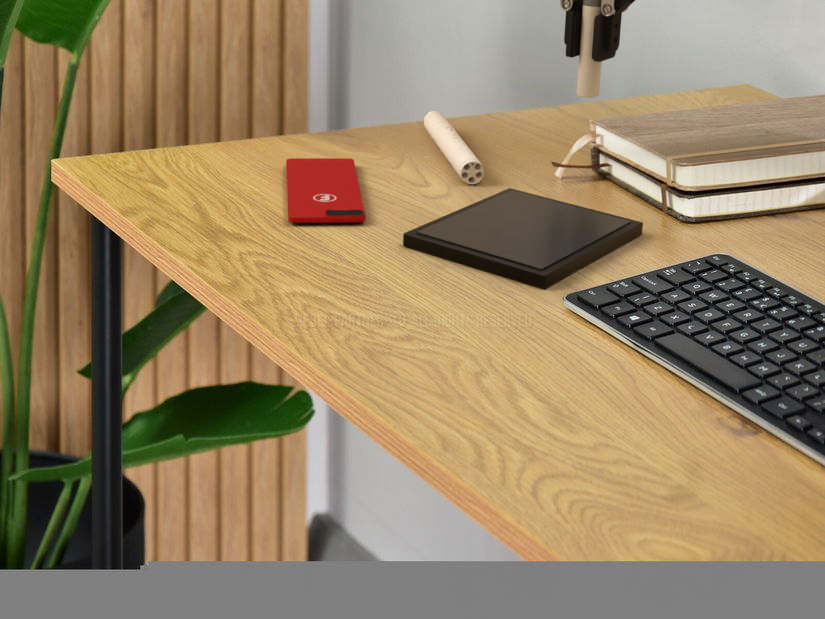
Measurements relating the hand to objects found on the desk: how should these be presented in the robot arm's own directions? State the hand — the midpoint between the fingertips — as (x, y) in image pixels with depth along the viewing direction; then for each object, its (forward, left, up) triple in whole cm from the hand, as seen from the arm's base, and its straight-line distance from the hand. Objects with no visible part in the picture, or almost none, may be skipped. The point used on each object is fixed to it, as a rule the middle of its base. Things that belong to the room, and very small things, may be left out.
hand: (590, 55), depth 107 cm
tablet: (+23, +9, -9) cm, 26 cm away
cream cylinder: (+9, -8, -9) cm, 15 cm away
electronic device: (+25, -9, -9) cm, 28 cm away
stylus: (0, 0, -4) cm, 4 cm away
